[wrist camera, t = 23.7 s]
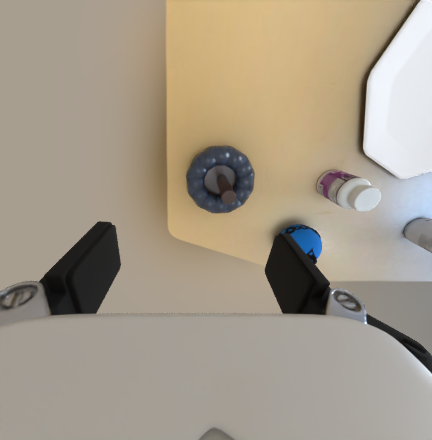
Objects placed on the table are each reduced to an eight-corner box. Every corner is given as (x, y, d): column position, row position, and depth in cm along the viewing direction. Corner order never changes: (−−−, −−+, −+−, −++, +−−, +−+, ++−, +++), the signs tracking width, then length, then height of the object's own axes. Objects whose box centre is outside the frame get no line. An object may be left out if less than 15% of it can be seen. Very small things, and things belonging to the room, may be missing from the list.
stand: (192, 186, 34) (189, 207, 25) (213, 147, 32) (219, 155, 23) (227, 205, 37) (236, 231, 28) (250, 170, 34) (269, 187, 25)
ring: (176, 192, 34) (174, 198, 31) (206, 131, 29) (207, 131, 27) (230, 218, 37) (232, 225, 34) (264, 166, 33) (269, 169, 30)
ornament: (299, 209, 39) (329, 234, 30) (313, 237, 42) (343, 267, 33) (264, 230, 40) (282, 260, 31) (279, 255, 44) (300, 288, 35)
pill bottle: (347, 173, 36) (394, 188, 27) (333, 198, 38) (371, 219, 29) (324, 165, 35) (364, 179, 26) (310, 191, 37) (343, 212, 28)
